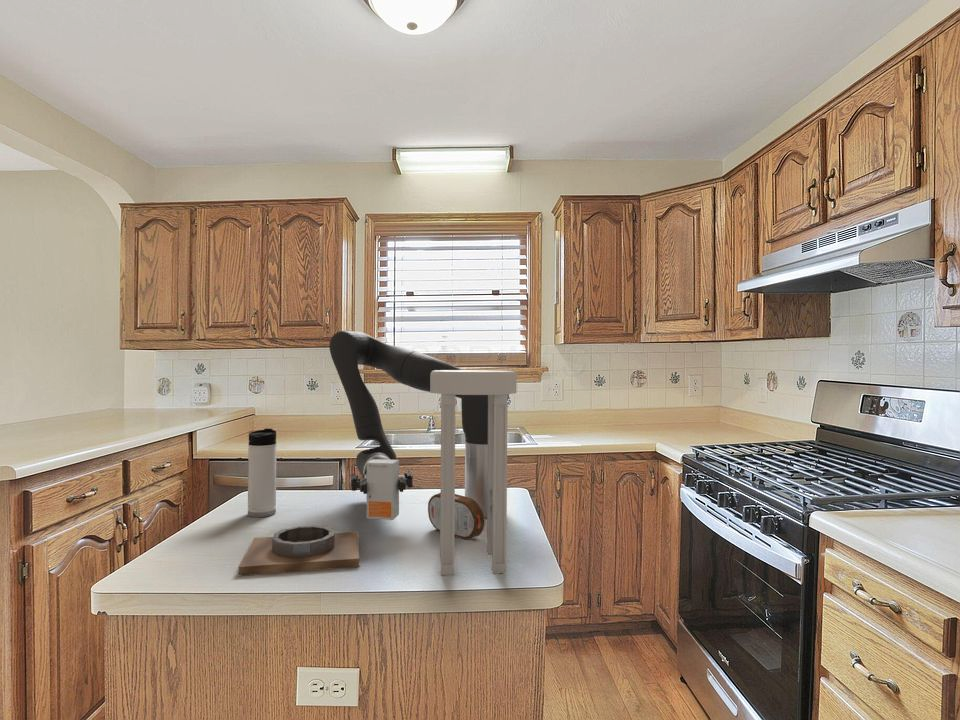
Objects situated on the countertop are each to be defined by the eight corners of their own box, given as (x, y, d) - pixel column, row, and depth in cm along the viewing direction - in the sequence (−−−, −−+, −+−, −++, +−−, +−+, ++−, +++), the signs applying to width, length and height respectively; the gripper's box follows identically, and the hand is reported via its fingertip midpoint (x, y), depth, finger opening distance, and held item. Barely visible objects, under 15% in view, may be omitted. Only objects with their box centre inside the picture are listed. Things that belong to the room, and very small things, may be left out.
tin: (485, 540, 114) (485, 499, 114) (474, 544, 112) (475, 502, 112) (435, 525, 124) (436, 488, 124) (425, 528, 122) (425, 490, 122)
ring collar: (335, 536, 111) (335, 524, 111) (333, 555, 100) (333, 541, 100) (276, 540, 108) (276, 527, 108) (268, 559, 98) (268, 545, 98)
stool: (428, 580, 93) (430, 371, 93) (429, 549, 108) (430, 369, 109) (519, 577, 94) (521, 371, 94) (507, 547, 110) (509, 370, 110)
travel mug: (281, 510, 136) (281, 428, 136) (268, 518, 129) (268, 431, 129) (256, 509, 136) (257, 428, 136) (242, 517, 130) (243, 431, 130)
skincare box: (365, 519, 117) (365, 462, 117) (373, 513, 121) (372, 458, 121) (393, 520, 116) (393, 463, 116) (400, 514, 120) (399, 459, 120)
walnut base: (357, 538, 114) (357, 531, 114) (359, 566, 99) (359, 558, 99) (254, 545, 110) (254, 537, 110) (238, 575, 94) (238, 566, 94)
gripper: (348, 458, 131) (348, 471, 114) (409, 455, 134) (417, 468, 118) (348, 490, 131) (348, 508, 114) (409, 486, 134) (418, 503, 118)
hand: (383, 488), depth 116 cm, fingers closed on skincare box, 7 cm apart
